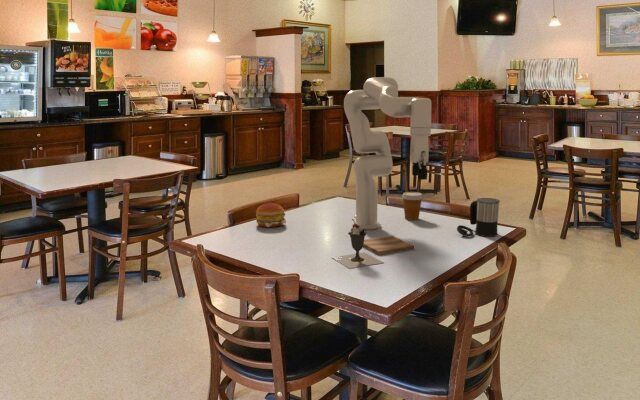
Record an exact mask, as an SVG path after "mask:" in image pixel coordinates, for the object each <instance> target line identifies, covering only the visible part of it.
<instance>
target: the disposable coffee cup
mask: <svg viewBox="0 0 640 400" xmlns="http://www.w3.org/2000/svg"><path fill="white" fill-rule="evenodd" d="M401 197H402V202H403V211H404V213H403V214H404V219H405V220H407V221H418V220H419V219H420V212H421V206H422V199H423V194H422V193H421V192H416V191H406V192H403V194H402V195H401Z"/></svg>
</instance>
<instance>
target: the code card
mask: <svg viewBox="0 0 640 400" xmlns="http://www.w3.org/2000/svg"><path fill="white" fill-rule="evenodd" d="M338 256H339V257H342V258H339V257H338V259H341V260H337V261H336V262H338V261H339V262H340V263H339V262H338V263H339V264H340V265H342V264H343V266H344V265H345V266H344V267H346V268H347V267H348V268H347V269H350V268H351V269H355V268H356V267H357V268H361V267H363V268H364V267H367V266H374V265H381V264H384V263H385V262H383V261H382V260H380V259H378V258H376V257H375V256H373V255H371V254H369V253H367V252H364V251H363V252H359V256H360V258H363V259H364V261H361V262H354V261H351V258H354V257H355V256H356V253H351V254H345V255H338Z"/></svg>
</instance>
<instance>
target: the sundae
mask: <svg viewBox="0 0 640 400" xmlns="http://www.w3.org/2000/svg"><path fill="white" fill-rule="evenodd" d="M351 220H352V221H353V223H354V225H353V226H352V227H351V228H350V231H349V232H348V235H349V236H350V242H351V247H352V249H353V250H354V251H355V254H356V256H355V257H354V258H351V261H354V262H361V261H364V259H363V258H360V256H359V253H360V251H361V250H362V249H363V248H364V247H363V245H364V240H365V237H366V236H367V231H366V230H365V229H362V227H361V226H359V225H357V224H356V223H355V222H356V220H355V219H353V218H352V219H351Z"/></svg>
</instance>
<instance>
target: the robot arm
mask: <svg viewBox="0 0 640 400" xmlns="http://www.w3.org/2000/svg"><path fill="white" fill-rule="evenodd" d="M343 109H344V113H345V116H346V118H347V120H348V123H349V128H350V134H351V139H352V141H351V142H352V145H353V149H354V151H355V152H356V153H358V154H371V153H372V154H371V155H363V156H359V157H357V158H356V159H355V161H354V162H353V172H354V177H355V215H354V218H355V223H356V224H357V225H359V226H361V227H362V230H363V229H365V231H367V230H376V229H377V230H378V229H379V228H381V223H380V222H378V199H379V198H378V197H379V193H378V185H377V182H375V180H374V178H377V177H385V176H389V175H390V174H391V173H392V171H393V167H394V166H393V165H394V163H393V157H392V152H391V146H390V142H389V138H388V136H387V133H385V132H384V131H382V130H371V126H370V121H369V119H368V117H367V115H365V114H364V113H363V112H362V111H363V110H366V111H367V110H379V109H380V111H381V112H382V113H383V114H385V115H387V116H389V117H390V118H410V119H409V120H410V122H409V124H410V125H409V126H410V129H409V131H410V132H409V135H410V137H411V139H410V149H409V150H410V151H409V160H410V161H411V162H412V164H411V170H412V171H411V175H412V176H417V179H418V180H419V181H421V180H422V181H423V180H427V179H428V162H429V155H430V154H429V150H430V149H429V146H430V145H429V137H431V134H432V130H431V129H432V100H431V99H430V98H427V97H418V96H404V97H403V96H400V97H399V85H398V82H397V80H396V79H395V78H393V77H390V76H386V77H385V76H381V77H380V76H379V77H374V76H373V77H370V78H368V79H367V80H366V81H365V82H364V83H363V89H356V90H350V91H349V92H347V93H346V95H345V97H344V99H343ZM373 153H375V154H373ZM353 225H354V222H352V224H351V226H352V227H353Z"/></svg>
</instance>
